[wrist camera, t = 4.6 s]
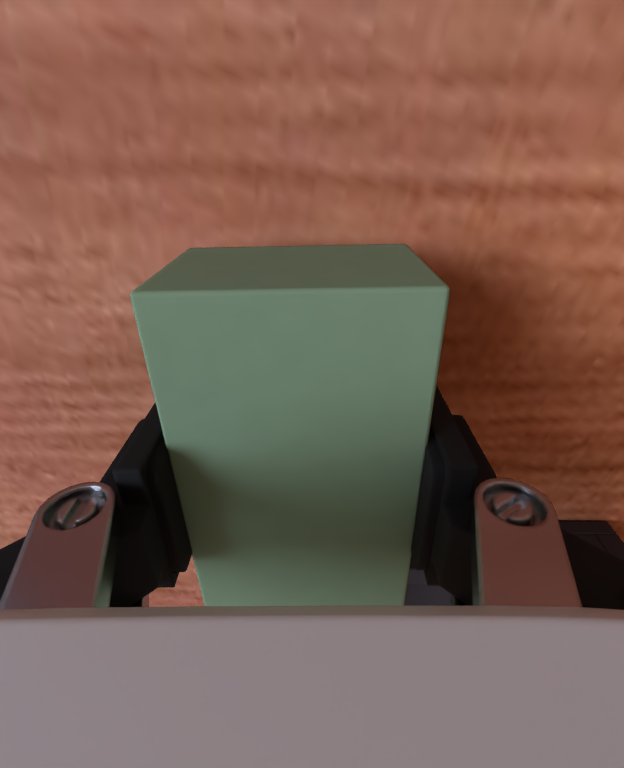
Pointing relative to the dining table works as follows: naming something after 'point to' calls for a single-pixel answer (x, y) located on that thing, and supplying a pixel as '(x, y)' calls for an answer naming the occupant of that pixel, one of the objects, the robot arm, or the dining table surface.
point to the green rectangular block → (296, 414)
